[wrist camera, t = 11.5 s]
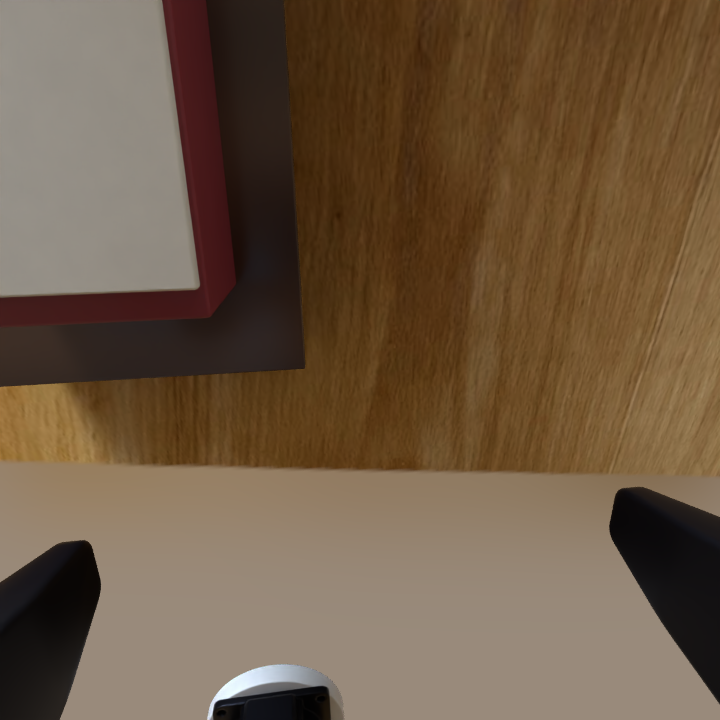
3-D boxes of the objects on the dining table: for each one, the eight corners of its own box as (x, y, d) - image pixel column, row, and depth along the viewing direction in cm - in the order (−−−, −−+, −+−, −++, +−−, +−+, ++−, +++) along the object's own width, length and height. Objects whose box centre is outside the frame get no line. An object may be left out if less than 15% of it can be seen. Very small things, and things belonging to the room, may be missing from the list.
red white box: (236, 285, 14) (208, 321, 10) (34, 293, 14) (-96, 336, 9) (181, -234, 11) (93, -560, 6) (-106, -258, 10) (-447, -648, 5)
